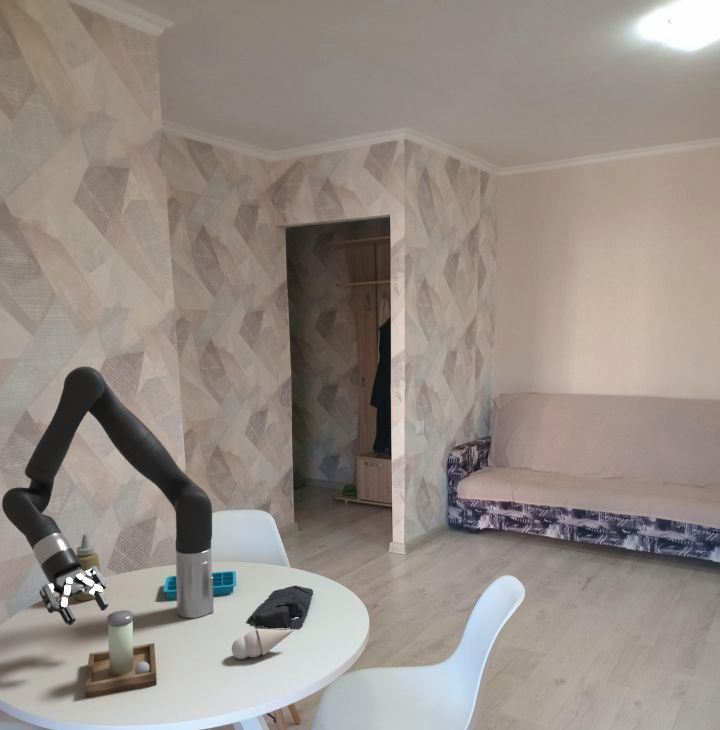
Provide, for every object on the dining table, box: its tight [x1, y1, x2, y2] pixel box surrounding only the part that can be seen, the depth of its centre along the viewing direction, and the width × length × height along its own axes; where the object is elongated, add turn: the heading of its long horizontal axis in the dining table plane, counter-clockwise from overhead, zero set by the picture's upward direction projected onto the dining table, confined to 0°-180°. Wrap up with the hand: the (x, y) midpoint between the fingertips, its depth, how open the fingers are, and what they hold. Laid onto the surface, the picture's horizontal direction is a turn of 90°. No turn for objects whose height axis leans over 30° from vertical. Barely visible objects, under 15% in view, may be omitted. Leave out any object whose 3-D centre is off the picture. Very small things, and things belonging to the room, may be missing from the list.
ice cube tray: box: [162, 570, 237, 600], centre depth 186 cm, size 12×20×3 cm, turn 102°
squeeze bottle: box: [74, 533, 102, 602], centre depth 180 cm, size 8×8×18 cm
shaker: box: [107, 609, 134, 676], centre depth 140 cm, size 5×5×12 cm
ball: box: [135, 661, 150, 674], centre depth 137 cm, size 3×3×3 cm
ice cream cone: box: [231, 628, 295, 660], centre depth 148 cm, size 6×6×15 cm
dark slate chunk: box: [245, 585, 314, 629], centre depth 172 cm, size 15×22×5 cm
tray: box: [84, 642, 158, 698], centre depth 140 cm, size 14×14×2 cm
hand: (89, 615), depth 145 cm, fingers open, 8 cm apart
